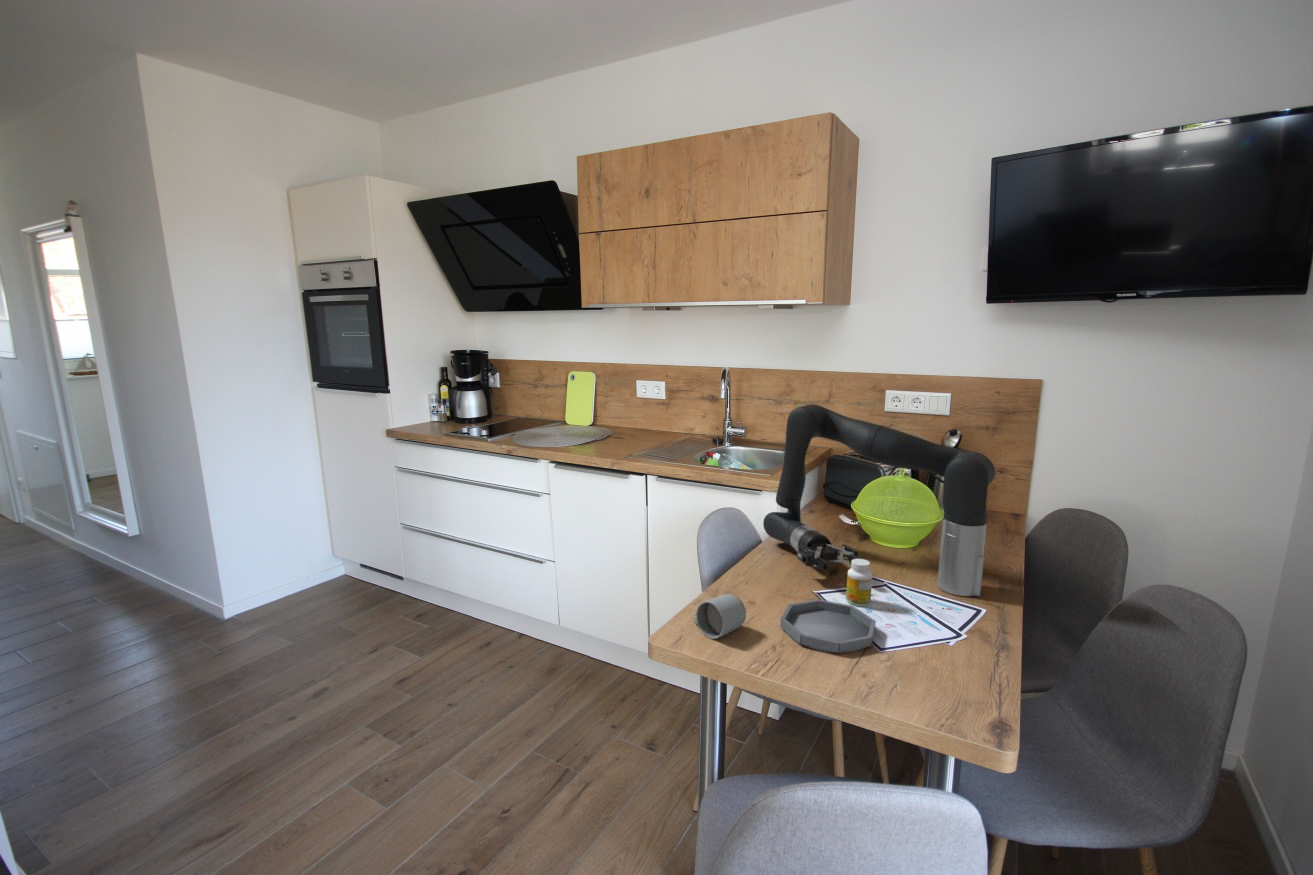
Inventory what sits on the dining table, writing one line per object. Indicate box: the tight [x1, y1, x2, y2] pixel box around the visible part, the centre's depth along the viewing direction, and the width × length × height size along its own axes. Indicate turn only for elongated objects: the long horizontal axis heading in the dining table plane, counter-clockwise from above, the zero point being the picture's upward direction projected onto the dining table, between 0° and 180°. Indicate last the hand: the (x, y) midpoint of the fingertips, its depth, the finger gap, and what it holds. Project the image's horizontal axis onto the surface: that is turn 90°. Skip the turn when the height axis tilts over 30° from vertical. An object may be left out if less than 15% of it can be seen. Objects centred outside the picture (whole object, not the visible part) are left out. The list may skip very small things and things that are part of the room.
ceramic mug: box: [693, 593, 747, 640], centre depth 126 cm, size 11×8×8 cm
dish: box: [780, 598, 877, 654], centre depth 125 cm, size 18×18×2 cm
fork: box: [838, 514, 859, 525], centre depth 193 cm, size 3×20×2 cm, turn 43°
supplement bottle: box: [845, 558, 873, 607], centre depth 138 cm, size 5×5×10 cm
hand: (843, 566), depth 145 cm, fingers open, 8 cm apart
